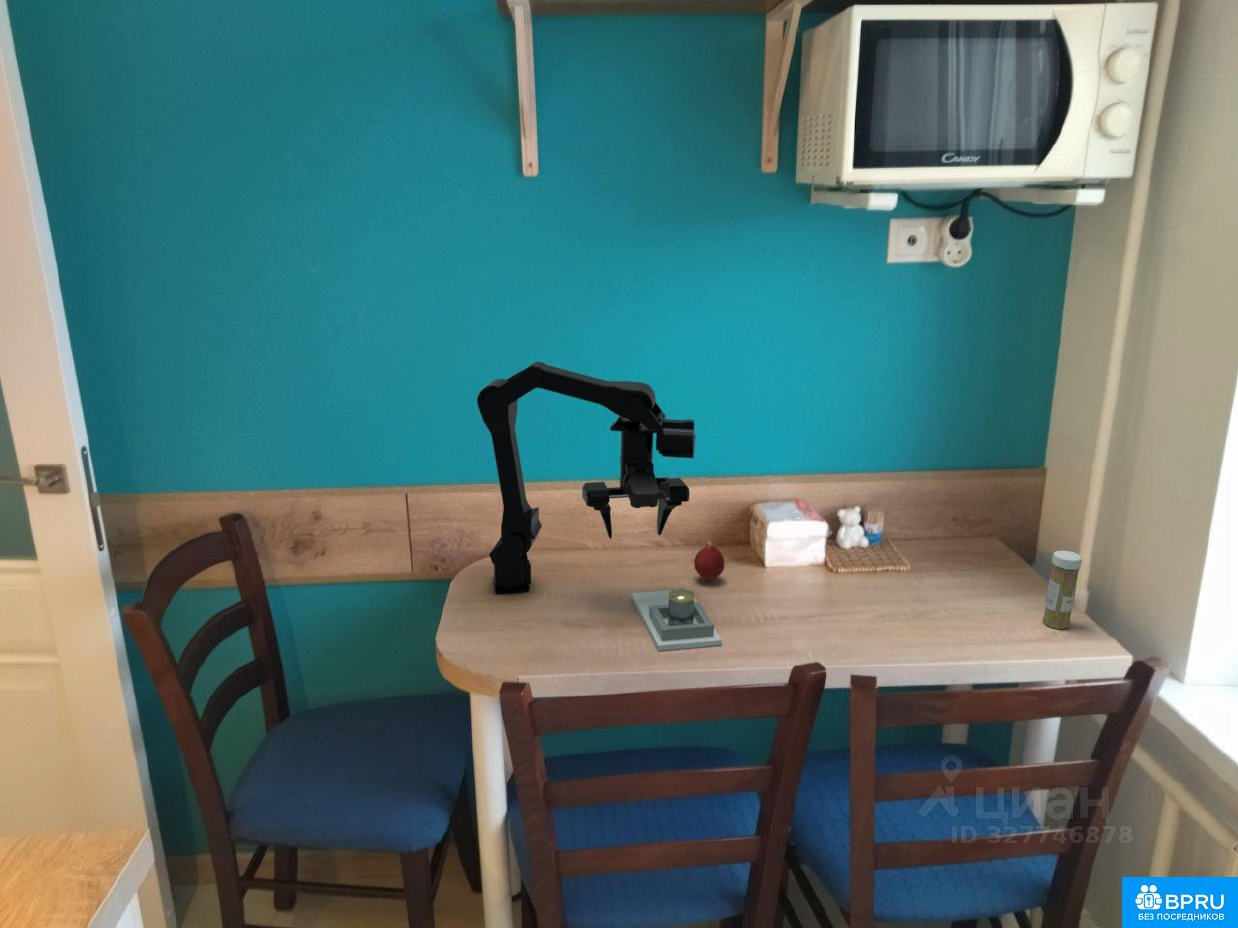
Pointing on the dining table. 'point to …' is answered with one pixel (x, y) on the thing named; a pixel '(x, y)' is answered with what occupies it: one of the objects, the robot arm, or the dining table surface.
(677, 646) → the dock
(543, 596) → the dining table surface
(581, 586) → the dining table surface
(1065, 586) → the sprinkles bottle
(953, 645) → the dining table surface
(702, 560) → the onion
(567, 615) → the dining table surface
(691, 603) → the lidded tin can
